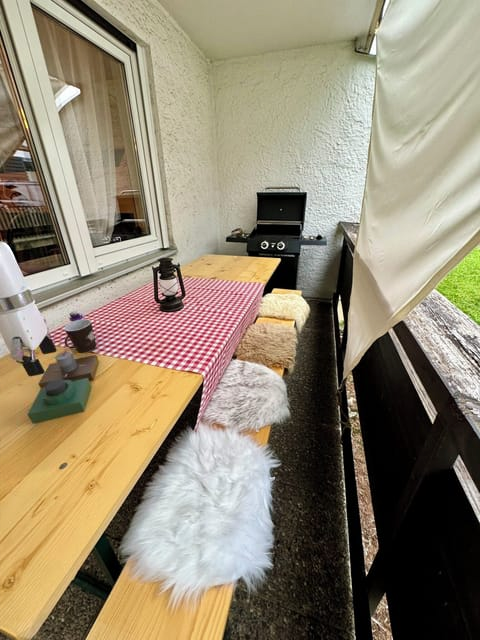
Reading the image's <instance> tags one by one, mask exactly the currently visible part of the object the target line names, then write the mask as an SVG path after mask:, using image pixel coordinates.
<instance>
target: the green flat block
mask: <svg viewBox="0 0 480 640" xmlns="http://www.w3.org/2000/svg"><path fill="white" fill-rule="evenodd" d="M64 381H65V383H66V385H67V389H66V390H65V391H64V392H62V393H60V394H58V395H55V396H49V395H48V393H47V392H46V390H45V387H43V388H40V390H39V392H38V394H36V395H37V396H35V397H36V398H35V399H34V401H33V403H32V405H31V407H30V409H29V410H28V412H27V417H28V419H29V420H30V421H31V423H32V424H33V425H35V424H39V423H43V422H47V421H52V420H55V419H60V418H63V417H67V416H73V415H76V414H77V415H78V414H80V413H85V411H86V408H87V404H88V401H89V398H90V395H91V390H92V388H93V387H92V384H91V381H89V379H88V378H86V379H81V380H76V381H70V380H64ZM34 423H35V424H34Z"/></svg>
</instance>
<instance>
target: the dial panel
mask: <svg viewBox="0 0 480 640" xmlns="http://www.w3.org/2000/svg"><path fill="white" fill-rule="evenodd" d="M74 359H75V361H76V364H77V367H76V368H75V369H74V370H72V371H70V372H66V373H64V372H62V371H61V370H60V367H59V365H58V363H57V362H52V363H49V364H48V366H47V367H46V369H45V370H44V371H45V372H44V374H42V376H41V379H40V380H39V382H38V386H39V388H40V389H41V388H43V387H46V385H47V384H48V383H50V382H51V381H54V380H57V379H63V380H70V381H76V380H81V379H86V378H88V379H89V382H92V381H94V380H95V378H96V374H97V370H98V367H99V363H100V360H99V358H98V356H97V354H94V355H88V356H83V357H82V356H81V357H77V358H74Z"/></svg>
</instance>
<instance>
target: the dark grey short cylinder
mask: <svg viewBox="0 0 480 640" xmlns="http://www.w3.org/2000/svg"><path fill="white" fill-rule="evenodd" d="M66 389H67V385H66V383H65V381H64V380H63V379H57V380H54V381H51V382H50V383H48V384H47V385H46V387H45V390H46V392H47V393H48V395H49V396H55V395H58V394H60V393H62V392H64V391H65V390H66Z"/></svg>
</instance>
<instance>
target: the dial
mask: <svg viewBox="0 0 480 640" xmlns="http://www.w3.org/2000/svg"><path fill="white" fill-rule="evenodd" d="M54 359H55V361H56V363H58V365H59V367H60V370H61V371H62V372H64V373H66V372H70V371H72V370H74V369H75V368H76V367H77V364H76V361H75V359H76V358H75V357H74V355H73V352H72V351H70V350H67V349H65V350H63V351H61V352H59V353H58V354H56V355H55V357H54Z"/></svg>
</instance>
